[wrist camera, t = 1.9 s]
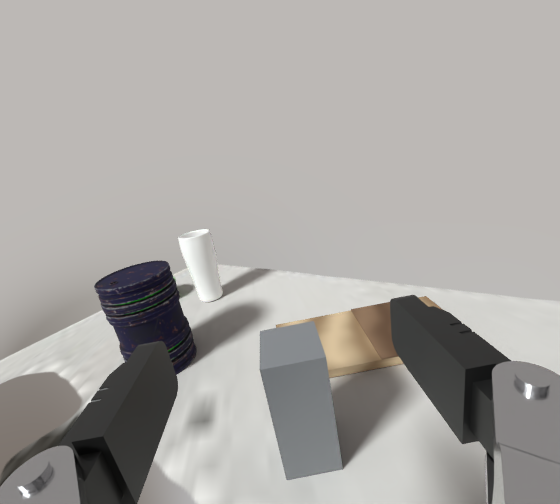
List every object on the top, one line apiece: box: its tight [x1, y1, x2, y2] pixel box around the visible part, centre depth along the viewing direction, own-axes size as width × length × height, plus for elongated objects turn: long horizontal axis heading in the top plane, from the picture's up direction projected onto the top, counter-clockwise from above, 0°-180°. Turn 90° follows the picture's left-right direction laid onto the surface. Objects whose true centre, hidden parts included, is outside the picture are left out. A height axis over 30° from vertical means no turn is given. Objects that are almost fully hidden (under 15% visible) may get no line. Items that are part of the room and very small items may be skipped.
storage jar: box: [94, 261, 196, 375], centre depth 41 cm, size 10×10×15 cm
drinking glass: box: [178, 229, 223, 302], centre depth 60 cm, size 7×7×15 cm
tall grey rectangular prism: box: [260, 321, 343, 480], centre depth 25 cm, size 5×5×12 cm
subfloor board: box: [276, 296, 441, 378], centre depth 40 cm, size 25×12×1 cm, turn 94°
